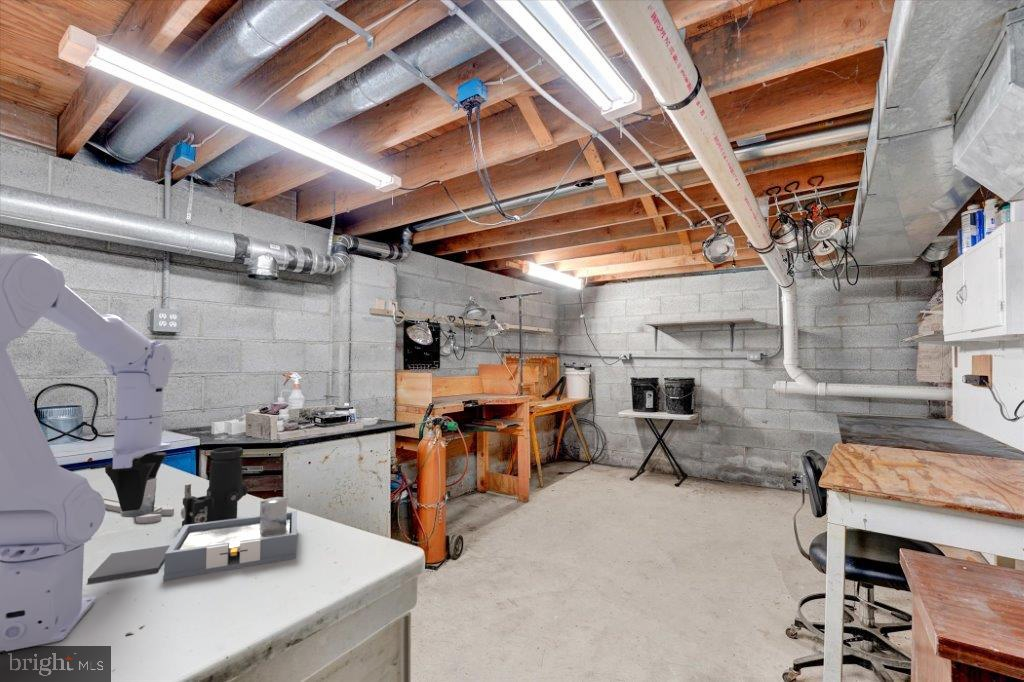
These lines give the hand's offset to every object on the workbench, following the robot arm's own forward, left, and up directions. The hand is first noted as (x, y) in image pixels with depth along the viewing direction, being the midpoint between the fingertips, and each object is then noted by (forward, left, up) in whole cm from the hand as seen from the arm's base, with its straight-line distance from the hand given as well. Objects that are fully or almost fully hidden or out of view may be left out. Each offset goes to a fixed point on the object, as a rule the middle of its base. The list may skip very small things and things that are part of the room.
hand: (136, 505), depth 70 cm
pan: (-2, -14, -7) cm, 16 cm away
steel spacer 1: (0, 0, -1) cm, 1 cm away
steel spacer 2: (-2, -19, -6) cm, 20 cm away
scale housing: (-2, -14, -9) cm, 17 cm away
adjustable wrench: (+31, +9, -10) cm, 34 cm away
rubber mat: (0, 0, -9) cm, 9 cm away
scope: (+15, -9, -9) cm, 20 cm away
